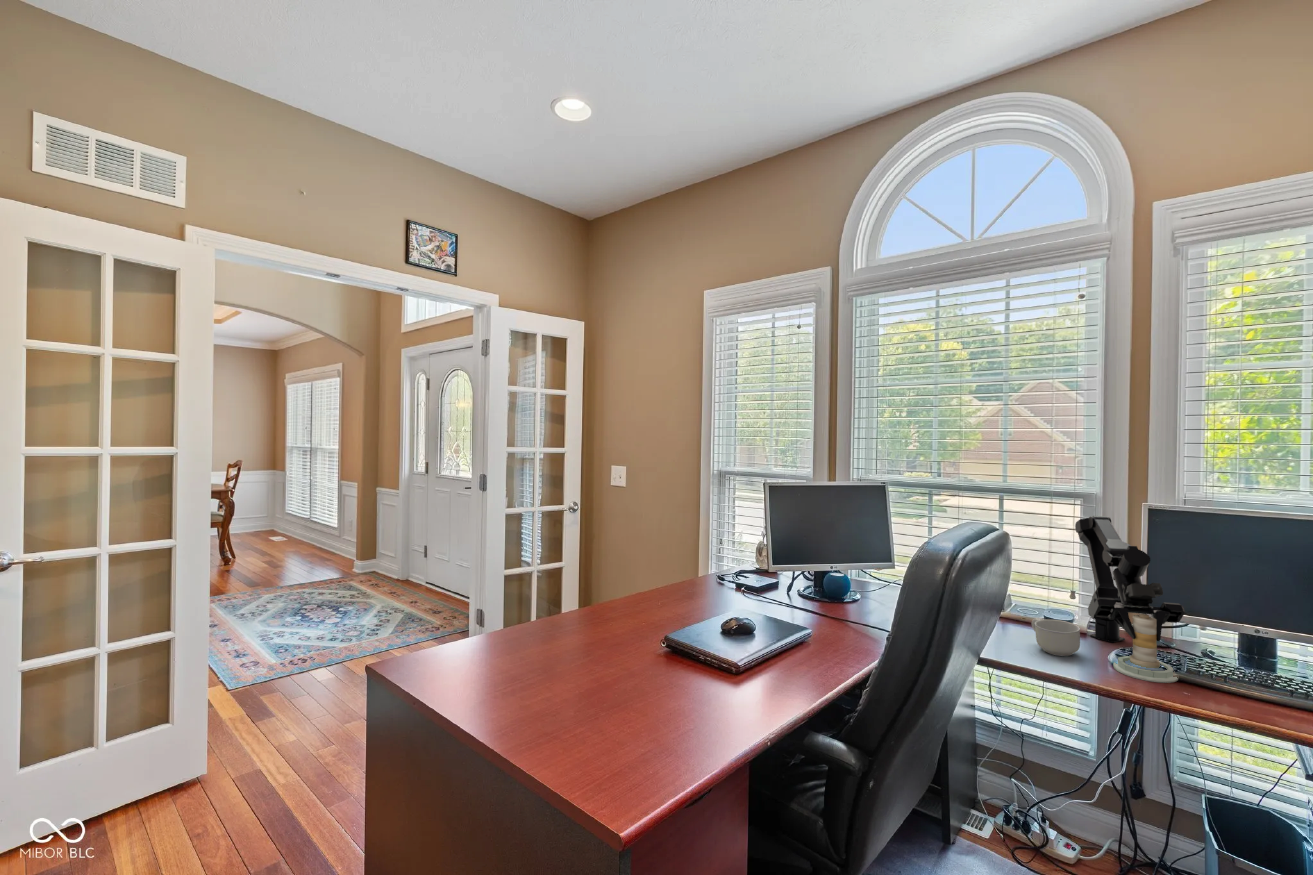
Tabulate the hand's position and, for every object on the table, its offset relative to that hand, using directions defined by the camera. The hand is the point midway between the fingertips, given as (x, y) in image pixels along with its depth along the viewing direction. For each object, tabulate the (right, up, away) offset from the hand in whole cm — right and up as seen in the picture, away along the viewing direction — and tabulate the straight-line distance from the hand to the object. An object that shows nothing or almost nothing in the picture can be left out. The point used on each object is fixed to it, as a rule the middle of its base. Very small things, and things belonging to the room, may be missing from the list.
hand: (1146, 639), depth 152 cm
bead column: (+1, -7, +1) cm, 7 cm away
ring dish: (0, -9, +1) cm, 9 cm away
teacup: (-12, -9, +18) cm, 23 cm away
